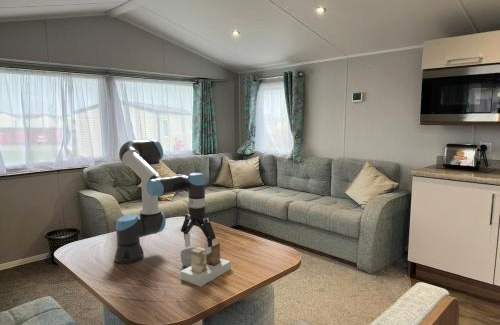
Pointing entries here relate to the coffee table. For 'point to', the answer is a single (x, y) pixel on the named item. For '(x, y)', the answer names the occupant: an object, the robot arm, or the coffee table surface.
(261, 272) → the coffee table surface
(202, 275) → the bore block
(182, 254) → the teacup
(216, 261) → the walnut pin
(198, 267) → the pin
